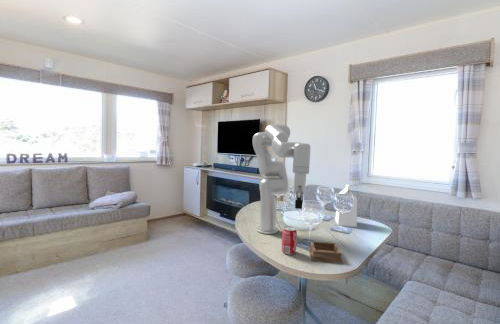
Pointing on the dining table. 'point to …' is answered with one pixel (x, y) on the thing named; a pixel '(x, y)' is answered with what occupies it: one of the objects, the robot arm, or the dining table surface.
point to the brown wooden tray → (325, 252)
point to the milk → (348, 217)
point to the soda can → (289, 240)
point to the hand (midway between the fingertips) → (298, 205)
